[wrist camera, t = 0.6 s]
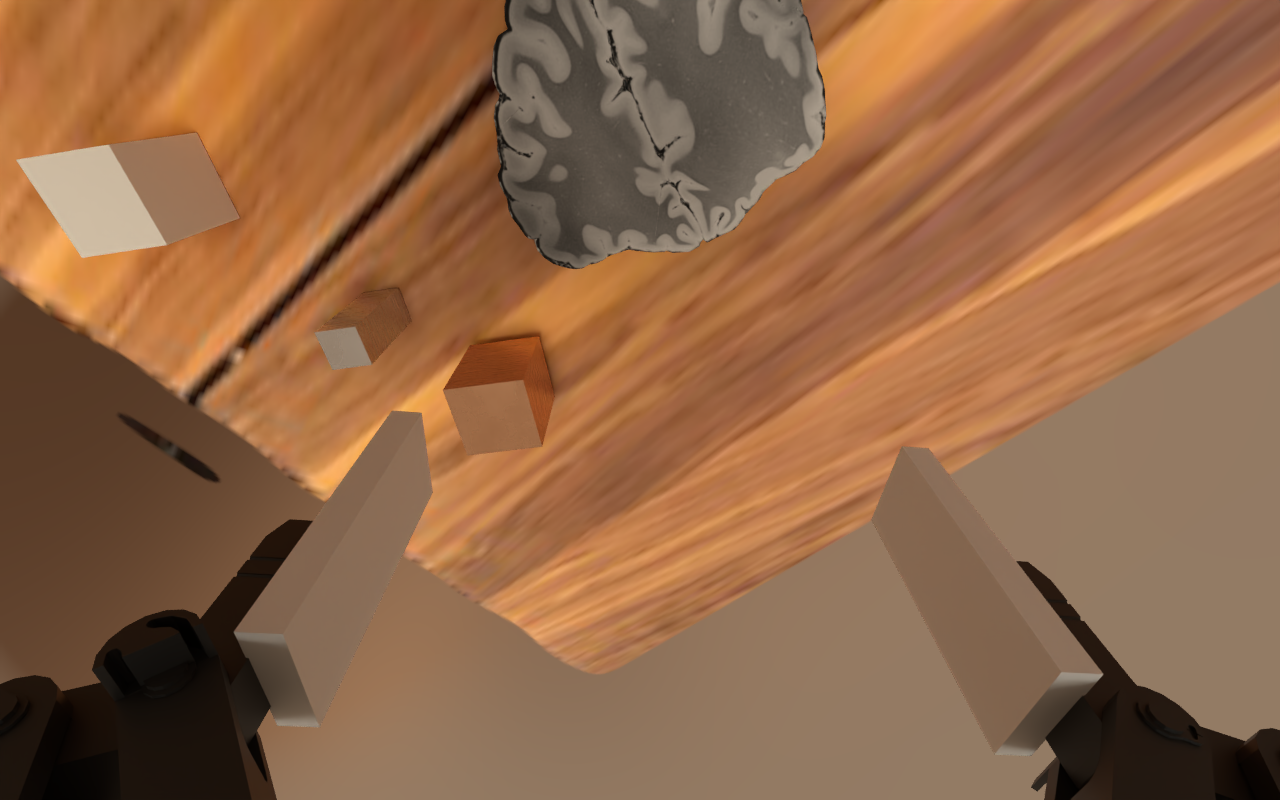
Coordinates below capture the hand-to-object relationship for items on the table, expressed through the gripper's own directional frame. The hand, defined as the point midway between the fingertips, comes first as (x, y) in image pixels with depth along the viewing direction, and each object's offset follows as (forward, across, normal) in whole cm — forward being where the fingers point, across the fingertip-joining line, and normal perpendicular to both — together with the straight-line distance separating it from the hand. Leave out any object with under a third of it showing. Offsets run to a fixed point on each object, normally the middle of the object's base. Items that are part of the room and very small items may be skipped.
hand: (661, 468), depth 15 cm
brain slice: (+26, -1, +7) cm, 27 cm away
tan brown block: (+26, -9, -11) cm, 29 cm away
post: (+26, -18, -7) cm, 32 cm away
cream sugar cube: (+26, -30, +1) cm, 40 cm away
